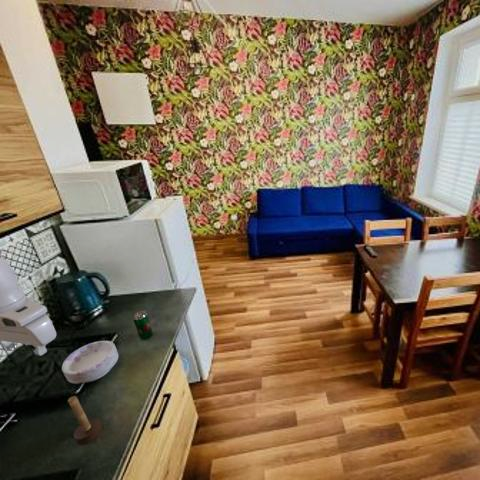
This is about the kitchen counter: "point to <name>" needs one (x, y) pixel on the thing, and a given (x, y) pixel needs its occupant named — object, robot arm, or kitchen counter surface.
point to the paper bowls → (90, 362)
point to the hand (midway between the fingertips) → (27, 351)
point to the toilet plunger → (84, 424)
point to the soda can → (143, 325)
